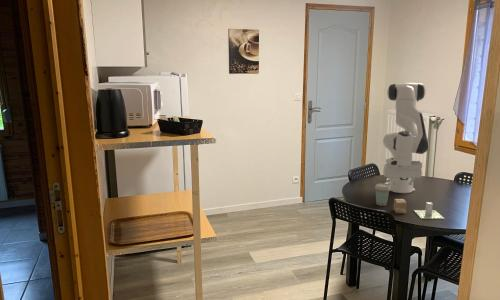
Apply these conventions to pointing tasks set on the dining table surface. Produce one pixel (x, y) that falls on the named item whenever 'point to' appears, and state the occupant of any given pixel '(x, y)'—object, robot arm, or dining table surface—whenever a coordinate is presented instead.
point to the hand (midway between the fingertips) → (401, 184)
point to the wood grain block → (400, 205)
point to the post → (428, 212)
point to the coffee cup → (382, 194)
